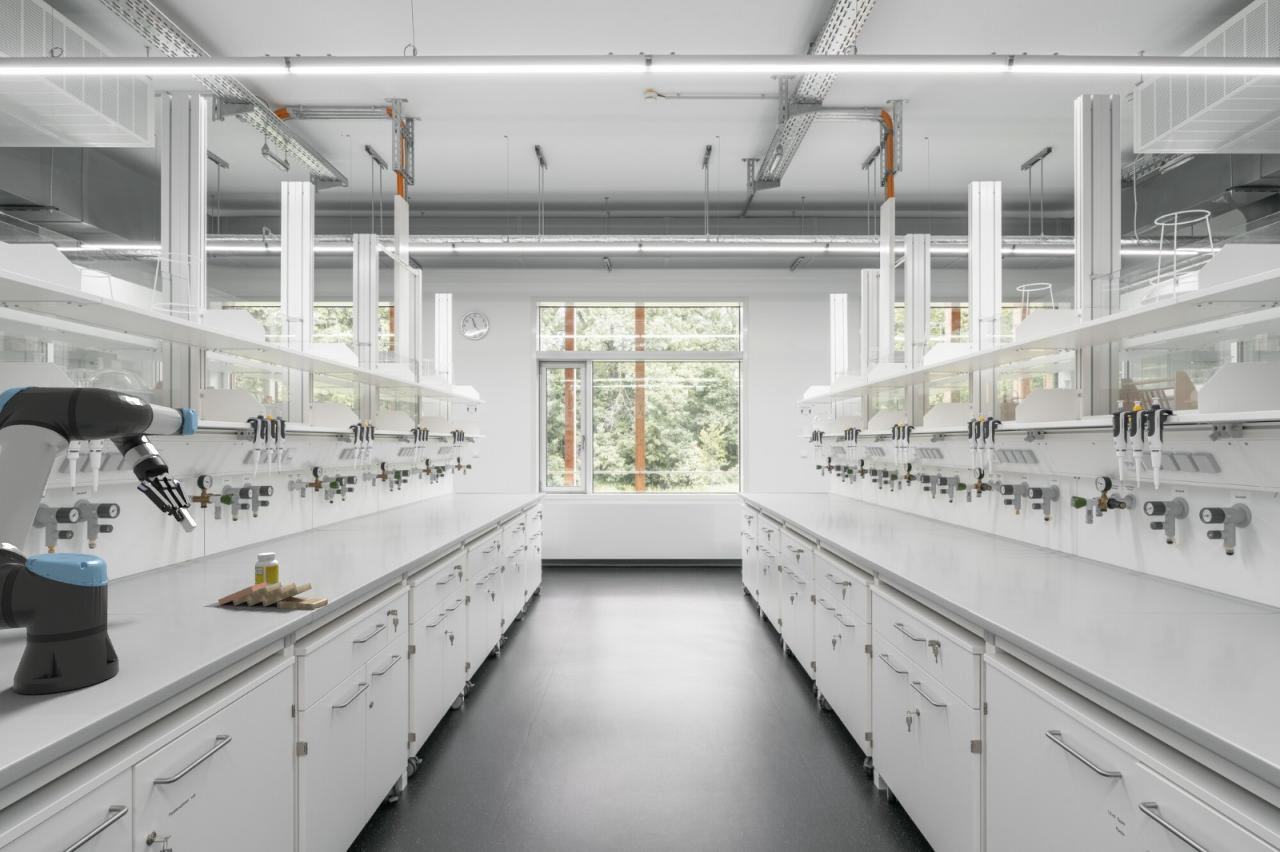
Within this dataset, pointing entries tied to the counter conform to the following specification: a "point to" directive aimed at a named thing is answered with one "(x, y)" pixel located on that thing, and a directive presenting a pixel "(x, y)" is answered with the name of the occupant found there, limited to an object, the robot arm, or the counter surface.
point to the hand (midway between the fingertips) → (191, 529)
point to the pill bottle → (267, 569)
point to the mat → (244, 606)
